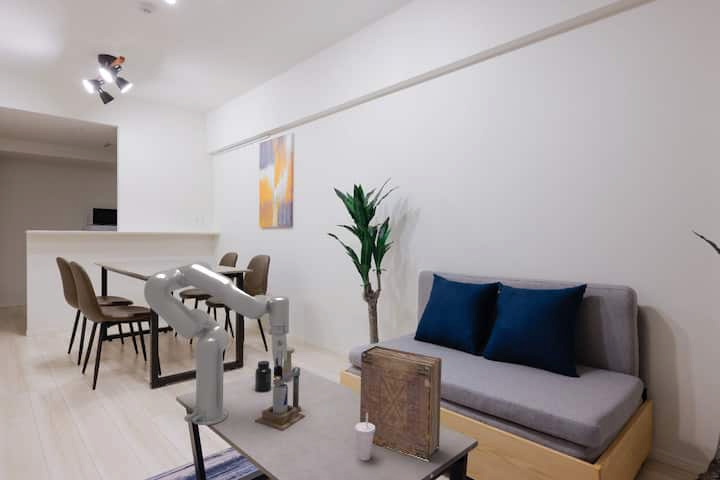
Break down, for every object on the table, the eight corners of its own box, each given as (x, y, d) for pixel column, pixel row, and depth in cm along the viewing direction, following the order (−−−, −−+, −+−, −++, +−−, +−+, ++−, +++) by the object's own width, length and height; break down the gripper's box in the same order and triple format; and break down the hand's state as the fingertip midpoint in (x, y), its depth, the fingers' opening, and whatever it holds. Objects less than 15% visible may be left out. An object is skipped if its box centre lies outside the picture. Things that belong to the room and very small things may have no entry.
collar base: (282, 431, 144) (283, 392, 143) (254, 421, 150) (255, 384, 150) (312, 412, 159) (313, 377, 159) (286, 404, 165) (286, 370, 165)
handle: (289, 383, 188) (289, 351, 187) (278, 380, 191) (279, 348, 191) (295, 380, 192) (296, 348, 192) (285, 377, 195) (285, 346, 195)
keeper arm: (295, 373, 162) (295, 365, 162) (301, 374, 161) (301, 366, 161) (272, 385, 148) (272, 376, 148) (279, 387, 147) (279, 378, 147)
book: (439, 449, 134) (442, 358, 133) (428, 462, 126) (431, 366, 125) (373, 428, 147) (374, 345, 146) (359, 438, 139) (361, 351, 139)
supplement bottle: (269, 385, 185) (269, 359, 184) (272, 391, 178) (272, 364, 178) (254, 387, 182) (254, 360, 182) (256, 393, 176) (256, 365, 175)
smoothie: (368, 465, 124) (369, 419, 123) (350, 458, 127) (351, 414, 127) (378, 455, 129) (379, 411, 129) (361, 449, 133) (362, 406, 132)
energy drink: (289, 415, 154) (290, 384, 154) (282, 421, 149) (283, 389, 149) (277, 413, 156) (278, 382, 155) (269, 419, 151) (270, 387, 150)
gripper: (291, 333, 148) (290, 383, 148) (286, 324, 162) (286, 370, 162) (269, 334, 145) (269, 385, 146) (267, 325, 160) (266, 371, 160)
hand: (278, 377), depth 154 cm, fingers closed
